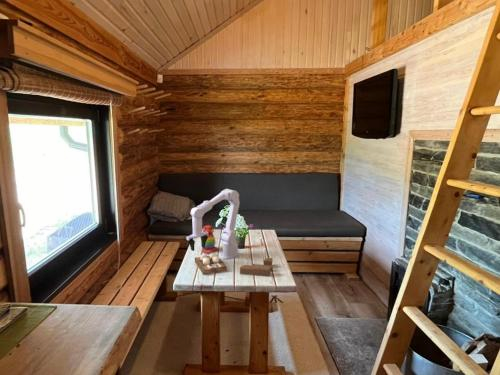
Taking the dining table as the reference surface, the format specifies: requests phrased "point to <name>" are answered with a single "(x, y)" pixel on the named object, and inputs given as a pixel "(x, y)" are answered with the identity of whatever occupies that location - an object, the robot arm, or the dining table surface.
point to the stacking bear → (209, 241)
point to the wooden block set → (258, 268)
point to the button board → (210, 266)
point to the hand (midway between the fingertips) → (198, 248)
